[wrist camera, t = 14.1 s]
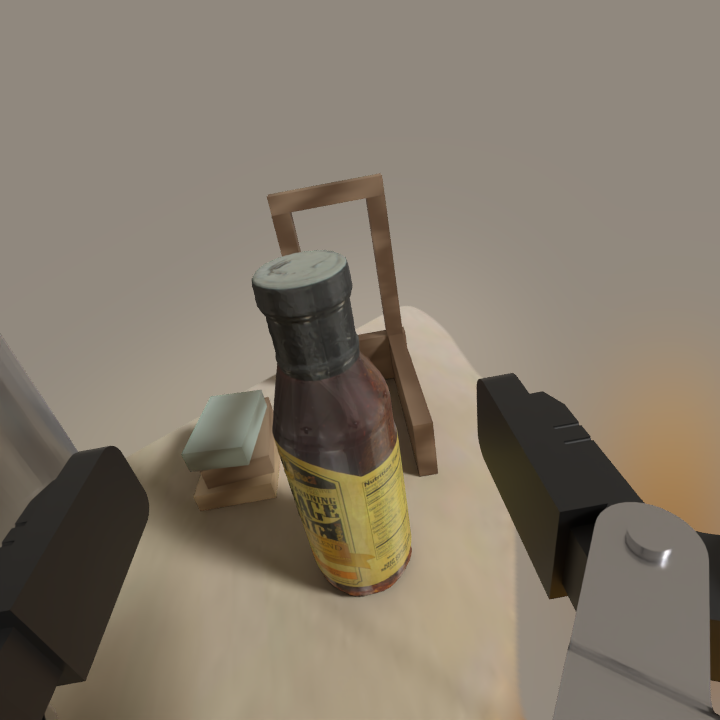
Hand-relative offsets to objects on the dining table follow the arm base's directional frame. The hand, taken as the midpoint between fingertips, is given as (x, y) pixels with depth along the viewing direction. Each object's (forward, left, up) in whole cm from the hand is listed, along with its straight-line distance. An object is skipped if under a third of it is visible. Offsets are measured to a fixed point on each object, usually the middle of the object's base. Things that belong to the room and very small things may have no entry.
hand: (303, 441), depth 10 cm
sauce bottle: (-1, +10, -19) cm, 22 cm away
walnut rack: (+1, +25, -19) cm, 31 cm away
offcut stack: (-10, +21, -19) cm, 31 cm away
